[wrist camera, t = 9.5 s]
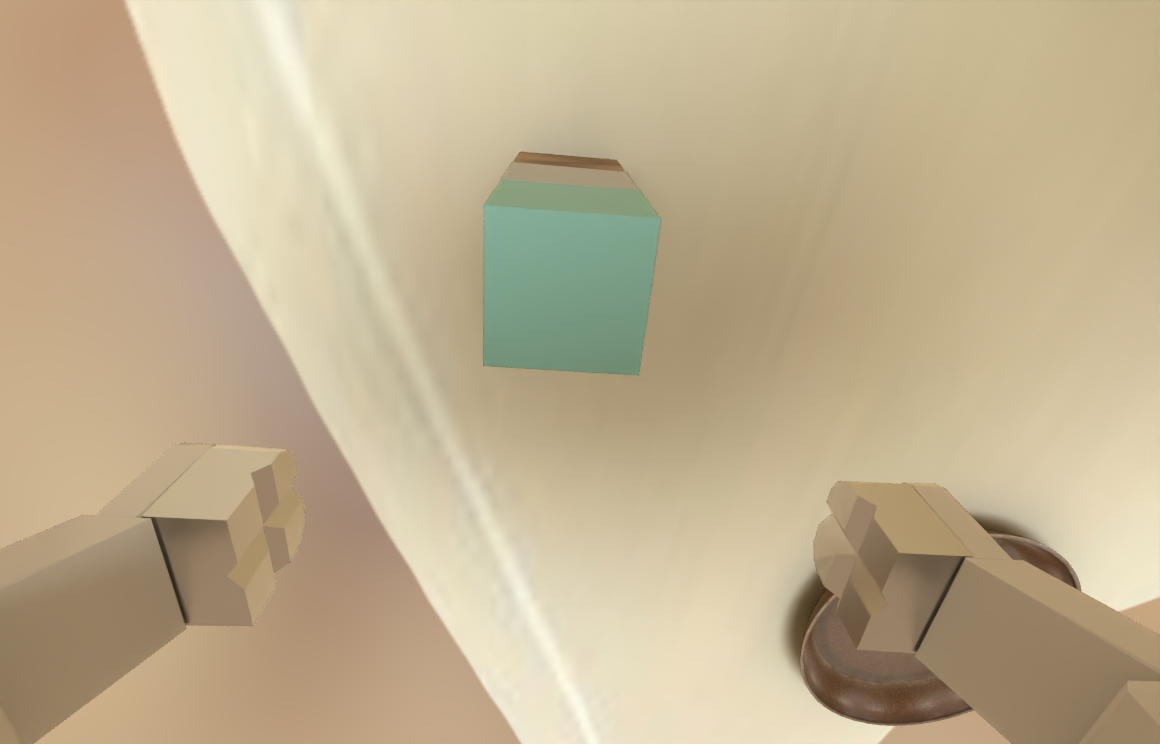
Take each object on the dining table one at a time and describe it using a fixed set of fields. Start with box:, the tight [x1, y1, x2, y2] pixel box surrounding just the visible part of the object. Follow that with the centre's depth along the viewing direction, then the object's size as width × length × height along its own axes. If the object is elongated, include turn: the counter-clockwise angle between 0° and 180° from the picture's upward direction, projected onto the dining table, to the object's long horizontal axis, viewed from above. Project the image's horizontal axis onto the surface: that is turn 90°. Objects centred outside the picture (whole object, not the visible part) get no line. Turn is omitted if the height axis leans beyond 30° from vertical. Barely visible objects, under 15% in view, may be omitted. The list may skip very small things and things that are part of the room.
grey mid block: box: [501, 162, 639, 190], centre depth 24 cm, size 5×5×5 cm
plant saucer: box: [800, 530, 1081, 726], centre depth 44 cm, size 21×21×3 cm
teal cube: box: [483, 179, 661, 375], centre depth 19 cm, size 5×5×5 cm
